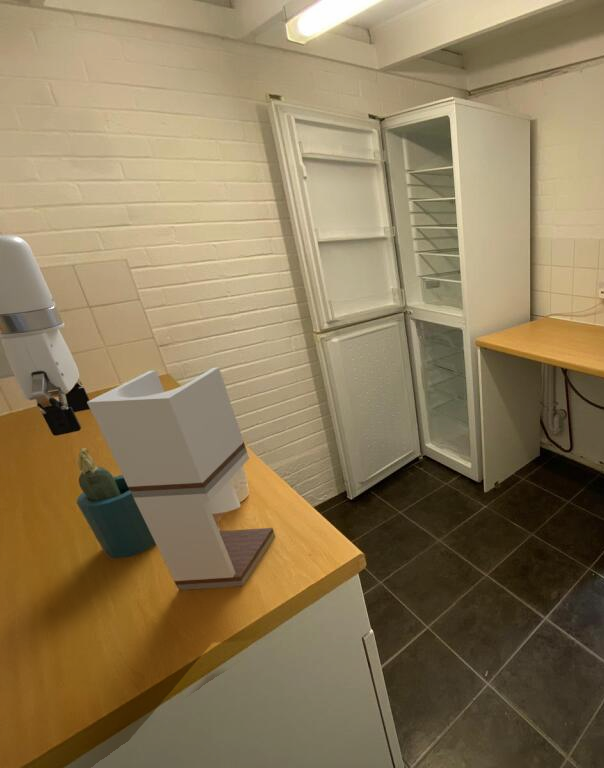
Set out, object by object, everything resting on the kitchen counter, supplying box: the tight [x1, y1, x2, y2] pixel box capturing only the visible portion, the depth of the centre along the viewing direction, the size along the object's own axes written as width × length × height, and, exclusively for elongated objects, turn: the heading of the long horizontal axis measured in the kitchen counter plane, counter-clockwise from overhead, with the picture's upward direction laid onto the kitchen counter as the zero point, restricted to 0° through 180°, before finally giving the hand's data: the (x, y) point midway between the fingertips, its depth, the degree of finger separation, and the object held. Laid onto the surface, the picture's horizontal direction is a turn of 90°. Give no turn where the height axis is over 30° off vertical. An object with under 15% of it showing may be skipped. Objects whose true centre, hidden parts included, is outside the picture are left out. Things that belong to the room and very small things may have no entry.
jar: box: [76, 474, 156, 559], centre depth 78 cm, size 10×10×12 cm
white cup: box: [231, 465, 250, 504], centre depth 89 cm, size 8×8×10 cm
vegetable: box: [77, 447, 121, 501], centre depth 76 cm, size 4×4×20 cm
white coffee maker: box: [87, 367, 276, 591], centre depth 68 cm, size 11×11×35 cm
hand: (74, 421), depth 70 cm, fingers open, 9 cm apart
